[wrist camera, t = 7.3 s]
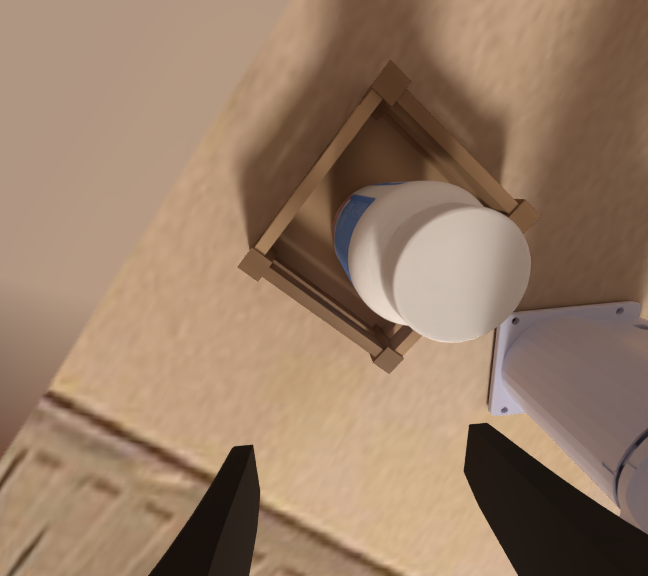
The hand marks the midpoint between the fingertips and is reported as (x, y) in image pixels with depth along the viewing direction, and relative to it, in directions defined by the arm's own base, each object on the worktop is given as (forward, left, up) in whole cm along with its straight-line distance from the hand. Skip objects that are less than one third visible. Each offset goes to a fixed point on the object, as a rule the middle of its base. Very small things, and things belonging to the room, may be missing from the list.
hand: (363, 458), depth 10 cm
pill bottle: (-3, -6, -10) cm, 12 cm away
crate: (-3, -6, -10) cm, 12 cm away
